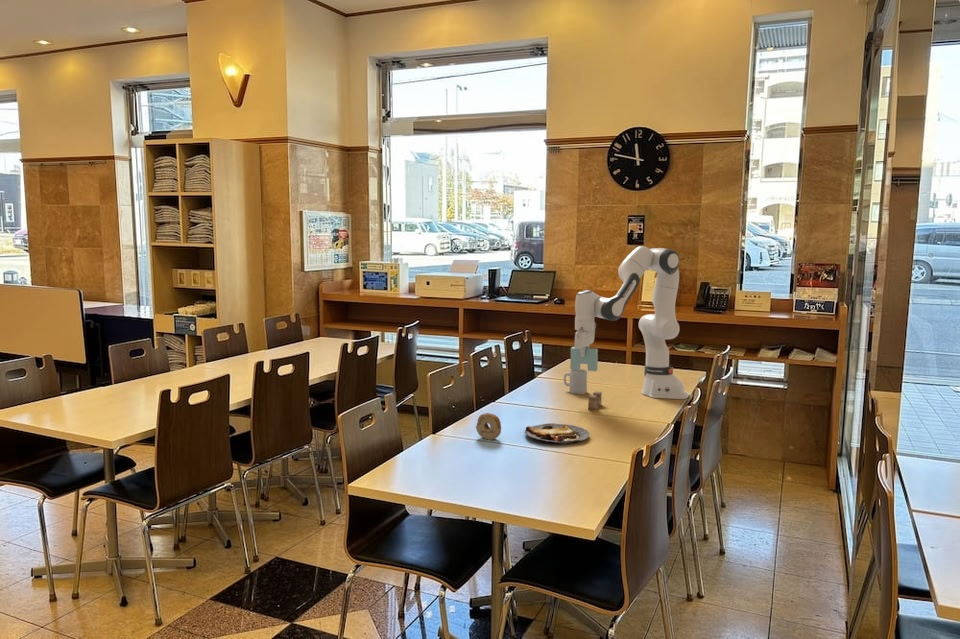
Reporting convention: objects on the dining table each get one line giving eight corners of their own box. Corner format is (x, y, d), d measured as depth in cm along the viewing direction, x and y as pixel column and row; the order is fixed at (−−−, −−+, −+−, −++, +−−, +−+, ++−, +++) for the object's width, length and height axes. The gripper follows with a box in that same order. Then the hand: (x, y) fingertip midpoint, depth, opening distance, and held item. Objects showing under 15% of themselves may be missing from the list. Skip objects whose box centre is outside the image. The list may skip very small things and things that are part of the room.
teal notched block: (597, 370, 318) (597, 348, 317) (595, 371, 315) (596, 349, 314) (572, 368, 323) (572, 347, 322) (570, 369, 320) (570, 348, 319)
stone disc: (503, 439, 266) (503, 414, 265) (497, 442, 263) (498, 416, 262) (480, 435, 272) (480, 410, 270) (475, 437, 269) (475, 412, 267)
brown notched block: (595, 403, 321) (595, 391, 320) (601, 404, 320) (601, 391, 319) (588, 409, 310) (588, 396, 310) (594, 410, 309) (595, 397, 308)
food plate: (536, 447, 255) (536, 438, 255) (516, 431, 278) (516, 422, 277) (598, 444, 262) (598, 435, 262) (574, 428, 284) (574, 419, 284)
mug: (589, 391, 346) (589, 369, 345) (583, 394, 339) (583, 373, 338) (566, 388, 352) (567, 367, 351) (560, 392, 345) (560, 370, 343)
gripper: (584, 329, 306) (584, 359, 308) (597, 323, 324) (596, 352, 326) (571, 328, 308) (570, 358, 310) (584, 322, 327) (583, 351, 329)
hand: (584, 355), depth 318 cm, fingers closed on teal notched block, 3 cm apart
